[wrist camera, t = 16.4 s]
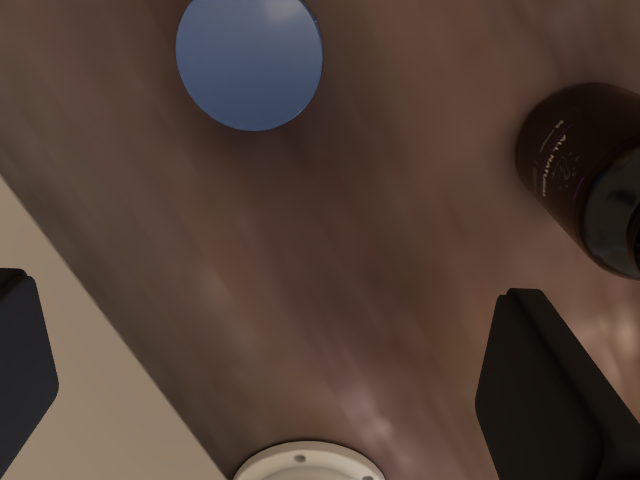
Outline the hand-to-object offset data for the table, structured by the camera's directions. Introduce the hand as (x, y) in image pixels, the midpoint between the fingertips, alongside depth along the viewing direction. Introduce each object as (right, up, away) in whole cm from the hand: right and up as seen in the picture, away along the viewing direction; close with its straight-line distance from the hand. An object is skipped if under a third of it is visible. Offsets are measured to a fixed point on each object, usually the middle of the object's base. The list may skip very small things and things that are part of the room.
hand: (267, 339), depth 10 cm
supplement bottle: (+15, +7, +17) cm, 24 cm away
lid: (-2, +11, +14) cm, 17 cm away
